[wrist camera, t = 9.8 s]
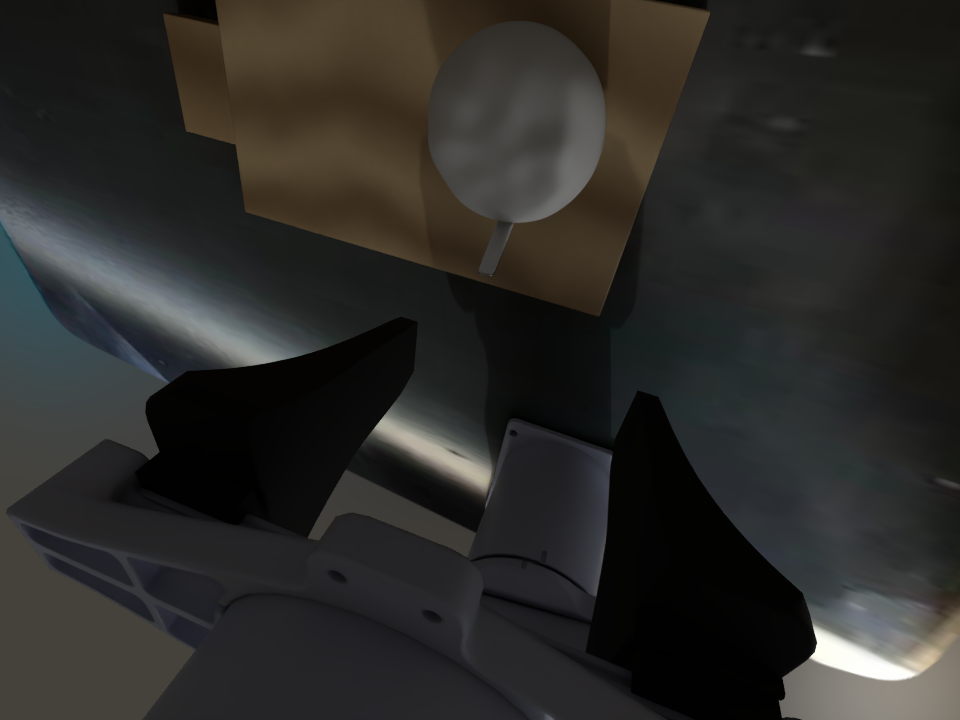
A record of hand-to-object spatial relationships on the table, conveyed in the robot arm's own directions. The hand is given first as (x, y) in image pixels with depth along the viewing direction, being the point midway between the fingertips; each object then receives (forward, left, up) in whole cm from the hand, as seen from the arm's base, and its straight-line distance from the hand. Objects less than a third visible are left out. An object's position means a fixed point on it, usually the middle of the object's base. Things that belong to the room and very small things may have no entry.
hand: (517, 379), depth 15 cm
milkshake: (+6, +2, -9) cm, 11 cm away
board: (+4, +9, -10) cm, 15 cm away
